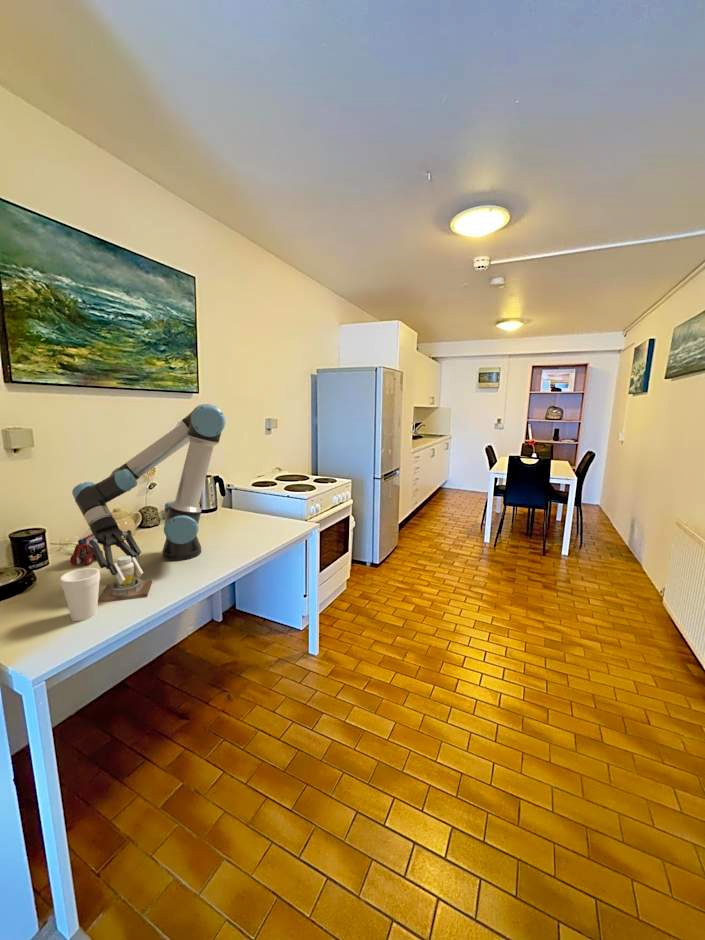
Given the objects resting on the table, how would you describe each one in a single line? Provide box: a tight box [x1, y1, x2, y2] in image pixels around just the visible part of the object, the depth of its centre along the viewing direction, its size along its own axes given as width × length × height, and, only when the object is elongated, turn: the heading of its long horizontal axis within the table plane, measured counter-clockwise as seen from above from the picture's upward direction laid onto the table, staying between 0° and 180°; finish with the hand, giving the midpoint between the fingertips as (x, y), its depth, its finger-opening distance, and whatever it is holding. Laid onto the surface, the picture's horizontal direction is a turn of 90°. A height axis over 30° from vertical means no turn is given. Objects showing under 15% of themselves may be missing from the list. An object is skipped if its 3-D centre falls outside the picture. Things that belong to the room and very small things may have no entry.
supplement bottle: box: [115, 555, 136, 588], centre depth 129 cm, size 5×5×10 cm
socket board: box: [98, 577, 153, 603], centre depth 130 cm, size 14×11×3 cm
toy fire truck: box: [69, 533, 104, 566], centre depth 152 cm, size 7×12×10 cm, turn 176°
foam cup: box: [60, 567, 101, 622], centre depth 114 cm, size 10×9×13 cm
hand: (131, 578), depth 127 cm, fingers closed on supplement bottle, 5 cm apart
